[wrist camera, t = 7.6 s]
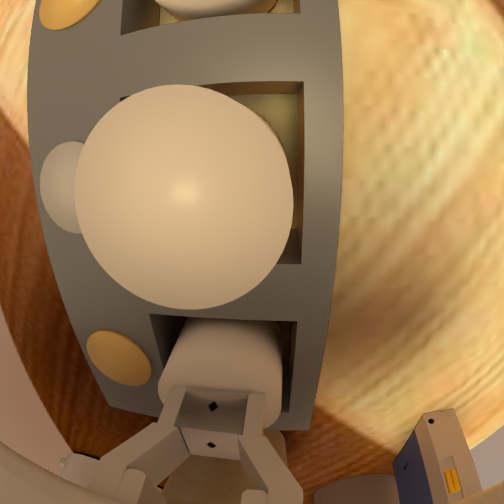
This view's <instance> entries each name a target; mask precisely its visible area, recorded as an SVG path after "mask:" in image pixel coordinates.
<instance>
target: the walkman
mask: <svg viewBox="0 0 504 504" xmlns="http://www.w3.org/2000/svg"><path fill="white" fill-rule="evenodd" d="M393 468H394V473H395V479H396V484H397V490H398V496H399V502H400V504H450V503H453V502H456V501H459V500H461V499H464V498H467V497H469V496H472V495H474V494H476V493H479V492H481V491H483V490H482V487H481V484H480V480H479V477H478V474H477V471H476V468H475V465H474V462H473V459H472V456H471V453H470V450H469V448H468V445H467V442H466V439H465V437H464V434H463V432H462V429H461V426H460V424H459V421H458V419H457V417H456V414H455V412H454V409H449V410H445V411H441V412H440V411H435V412H431V413H426V414H423V415H422V417H421V419H420V421H419V422H418V424H417V426H416V427H415V430H414V431H413V433H412V435H411V436H410V438H409V440H408V441H407V443H406V444H405V446H404V447H403V449H402V451H401V452H400V454H399V455H398V457H397V458H396V460H395V461H394V463H393Z"/></svg>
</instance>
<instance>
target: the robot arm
mask: <svg viewBox="0 0 504 504" xmlns="http://www.w3.org/2000/svg"><path fill="white" fill-rule="evenodd" d="M264 429H265V394H264V393H249V392H232V391H219V390H218V391H213V390H206V389H198V388H192V387H185V386H178V385H173V386H172V388H171V389H170V391H169V394H168V396H167V399H166V402H165V404H164V407H163V409H162V412H161V414H160V417H159V420H158V422H157V423H154V422H153V423H151V424H150V425H149V426H147V427H146V428H144V429H143V430H141V431H140V432H138V433H137V434H136V435H134V436H133V437H131V438H130V439H128V440H127V441H125V442H124V443H122V444H121V445H119V446H118V447H116V448H115V449H113V450H112V451H110V452H108V453H107V454H105V455H104V456H102V457H101V458H100V461H99V460H97V459H94V458H91V457H88V456H84V455H81V454H75V453H71V454H69V455H68V458H61V460H60V463H59V464H60V466H61V467H63V469H62V472H61V474H60V477H59V476H57V475H55V474H54V473H52V472H50V471H48V470H46V469H44V468H42V467H41V466H39V465H37V464H35V463H34V462H32V461H30V460H28V459H27V458H25V457H23V456H22V455H20V454H18V453H17V452H15V451H14V450H12V449H11V448H9V447H8V446H6V445H5V444H3V443H2V442H0V504H166V502H167V500H166V498H165V497H164V496H163V495H162V494H161V492H162V489H160V488H158V487H157V485H158V484H160V483H161V482H162V481H163V480H164V479H165V478H166V477H167V476H168V475H170V474H171V473H172V472H173V471H174V470H175V469H176V468H177V467H178V466H179V465H180V464H181V463H183V462H184V461H185V460H186V459H187V458H188V457H189V456H190V455H189V454H192V455H199V456H208V457H216V458H223V459H231V460H240V462H241V464H242V466H243V467H244V469H245V471H246V473H247V475H248V477H249V479H250V481H251V482H252V484H253V486H254V488H255V490H248V489H247V490H246V491H244V492H243V493H242V498H241V504H303V489H302V488H301V486H300V485H299V484H298V482H297V481H296V480H295V478H294V477H293V475H292V474H291V473H290V471H289V470H288V468H287V467H286V465H285V464H284V463H283V461H282V460H281V458H280V457H279V455H278V454H277V452H276V451H275V449H274V448H273V446H272V445H271V443H270V442H269V440H268V439H267V437H265V436H264ZM450 504H504V481H503V482H501V483H499V484H497V485H495V486H492V487H490V488H488V489H486V490H483V491H481V492H479V493H476V494H474V495H472V496H469V497H467V498H464V499H461V500H459V501H456V502H453V503H450Z"/></svg>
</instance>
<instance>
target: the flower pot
mask: <svg viewBox="0 0 504 504" xmlns="http://www.w3.org/2000/svg"><path fill="white" fill-rule="evenodd" d="M264 436H265V437H267V439H268V440H269V442H270V443H271V445H272V446H273V448H274V449H275V451H276V452H277V454H278V455H279V457H280V458H281V460H282V461H283V463H284V464H285V465H286V467H287V468H288V463H287V454H286V443H285V438H284V436H283V434H282V433H281V432H280V431H279V430H264ZM189 455H190V456H189V457H188V458H187V459H186V460H185V461H184V462H183V463H181V464H180V465H179V466H178V467H177V468H176V469H175V470H174V471H173V472H172V473H171V474H170V476H169V478H168V481H167V483H166V484H165V486H164V488H163V490H162V492H161V494H162V495H163V496H164V497H165V498H166V500H167V502H166V504H241V498H242V493H243V492H244V491H246V490H247V489H248V490H255V488H254V486H253V484H252V482H251V481H250V479H249V477H248V475H247V473H246V471H245V469H244V467H243V466H242V464H241V462H240V460H231V459H223V458H216V457H208V456H199V455H192V454H189Z"/></svg>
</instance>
